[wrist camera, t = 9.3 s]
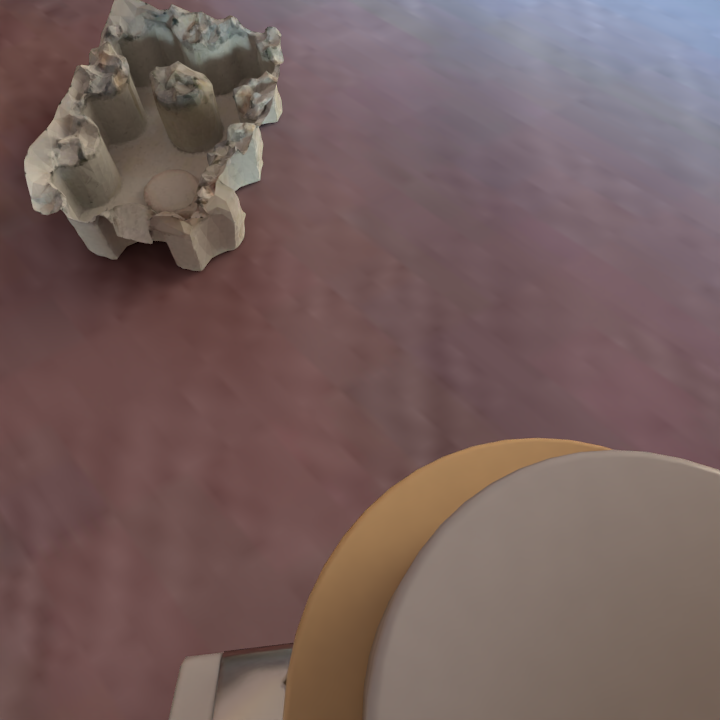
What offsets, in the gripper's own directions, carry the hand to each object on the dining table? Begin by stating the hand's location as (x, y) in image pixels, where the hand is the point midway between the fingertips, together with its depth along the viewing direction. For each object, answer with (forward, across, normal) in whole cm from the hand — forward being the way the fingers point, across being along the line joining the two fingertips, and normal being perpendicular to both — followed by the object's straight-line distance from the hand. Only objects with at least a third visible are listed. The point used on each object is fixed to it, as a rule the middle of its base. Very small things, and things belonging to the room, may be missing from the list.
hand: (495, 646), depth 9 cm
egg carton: (+21, +7, -6) cm, 23 cm away
